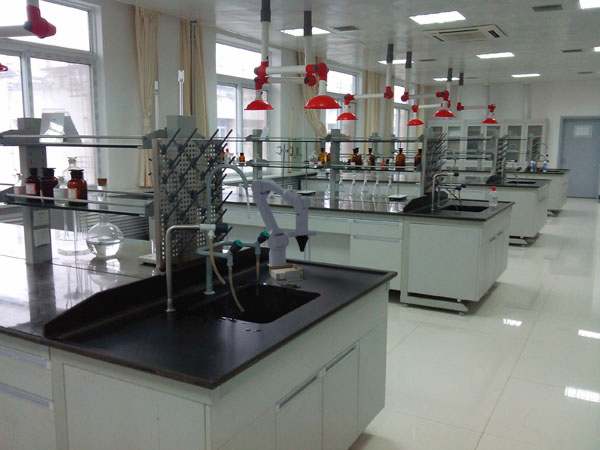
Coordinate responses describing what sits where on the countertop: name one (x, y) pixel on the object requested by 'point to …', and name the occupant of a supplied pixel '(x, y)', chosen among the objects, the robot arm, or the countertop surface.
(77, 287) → the countertop surface
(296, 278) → the bookend
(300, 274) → the brown wooden tray
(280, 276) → the cream rectangular block
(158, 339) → the countertop surface
